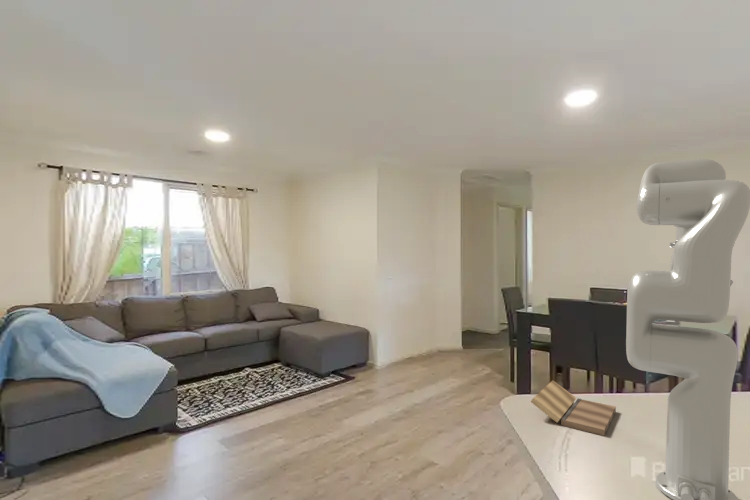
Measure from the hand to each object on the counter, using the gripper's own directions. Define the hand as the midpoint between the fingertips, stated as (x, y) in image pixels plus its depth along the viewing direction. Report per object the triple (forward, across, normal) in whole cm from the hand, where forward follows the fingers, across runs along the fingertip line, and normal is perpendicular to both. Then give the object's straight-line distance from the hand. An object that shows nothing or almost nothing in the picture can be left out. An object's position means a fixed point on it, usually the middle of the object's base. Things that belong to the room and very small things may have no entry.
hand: (691, 308), depth 117 cm
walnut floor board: (+30, -22, -17) cm, 41 cm away
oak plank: (+28, -32, -16) cm, 46 cm away
